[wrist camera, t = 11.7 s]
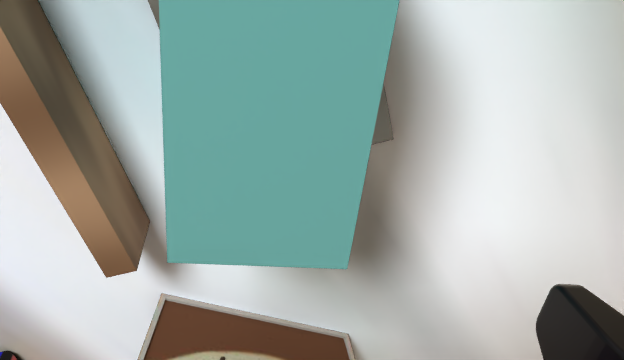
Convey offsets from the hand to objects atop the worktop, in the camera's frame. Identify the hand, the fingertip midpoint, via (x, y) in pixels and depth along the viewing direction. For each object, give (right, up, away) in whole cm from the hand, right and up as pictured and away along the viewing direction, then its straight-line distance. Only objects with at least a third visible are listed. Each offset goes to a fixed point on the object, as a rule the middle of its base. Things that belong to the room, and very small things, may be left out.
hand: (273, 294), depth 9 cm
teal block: (-1, +7, +11) cm, 13 cm away
